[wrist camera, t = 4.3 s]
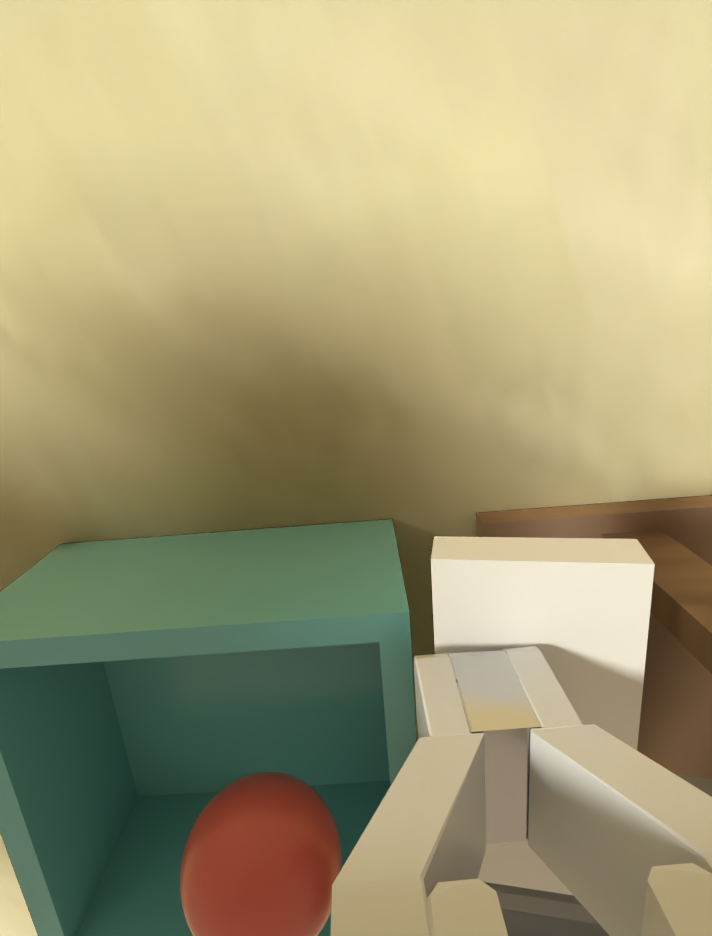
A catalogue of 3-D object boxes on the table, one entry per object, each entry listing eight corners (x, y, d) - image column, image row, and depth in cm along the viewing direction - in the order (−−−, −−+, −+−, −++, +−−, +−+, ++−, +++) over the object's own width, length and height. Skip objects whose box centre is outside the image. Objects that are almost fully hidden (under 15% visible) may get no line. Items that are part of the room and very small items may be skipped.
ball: (378, 901, 14) (278, 819, 16) (367, 785, 13) (262, 716, 15) (264, 1064, 11) (164, 935, 14) (237, 934, 10) (133, 819, 12)
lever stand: (480, 777, 22) (577, 1138, 12) (476, 512, 19) (607, 728, 9) (719, 761, 22) (1007, 1116, 12) (761, 491, 18) (1208, 688, 9)
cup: (128, 800, 22) (50, 969, 17) (61, 543, 19) (-68, 645, 13) (409, 781, 22) (428, 948, 16) (392, 518, 19) (409, 612, 13)
